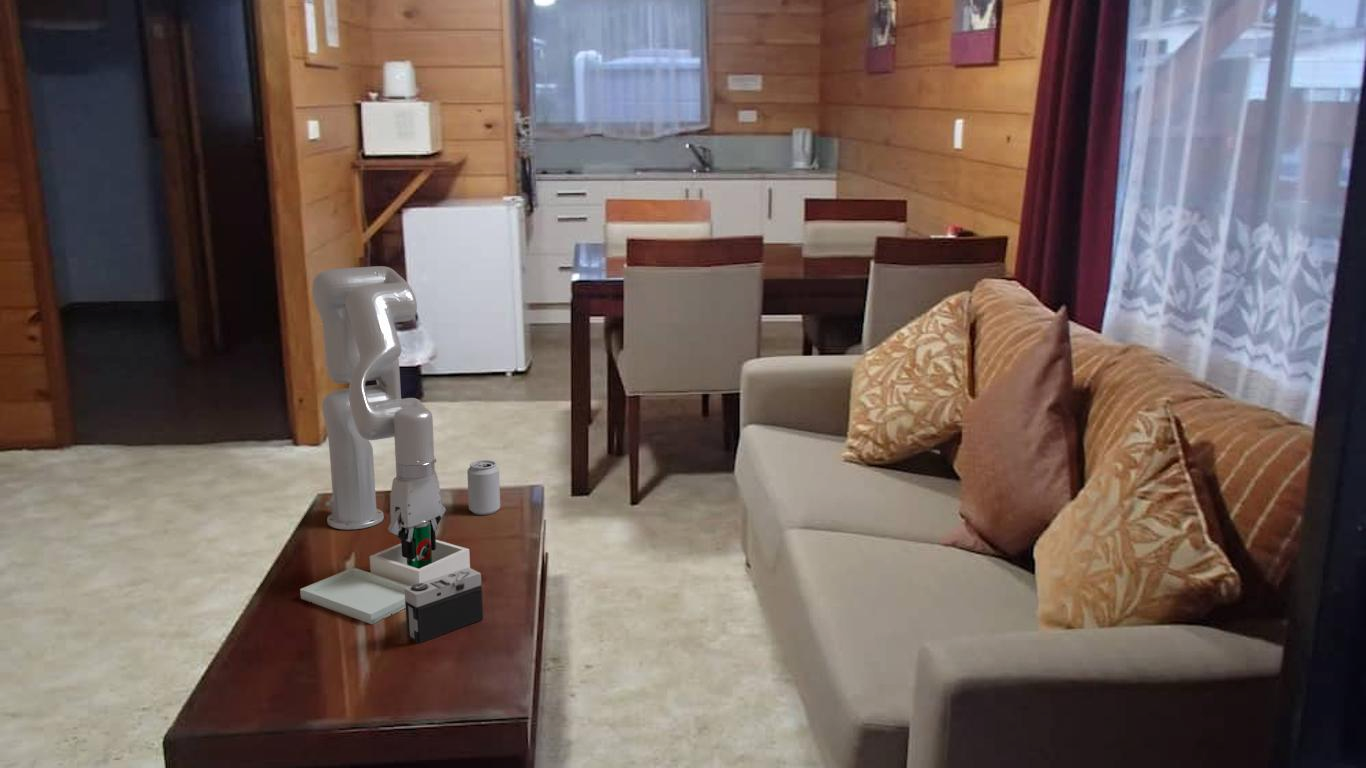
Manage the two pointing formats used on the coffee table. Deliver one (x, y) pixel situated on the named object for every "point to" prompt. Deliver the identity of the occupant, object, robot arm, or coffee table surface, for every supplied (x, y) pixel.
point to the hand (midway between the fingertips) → (419, 552)
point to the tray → (358, 595)
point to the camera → (443, 604)
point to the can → (483, 487)
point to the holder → (443, 563)
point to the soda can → (421, 545)
